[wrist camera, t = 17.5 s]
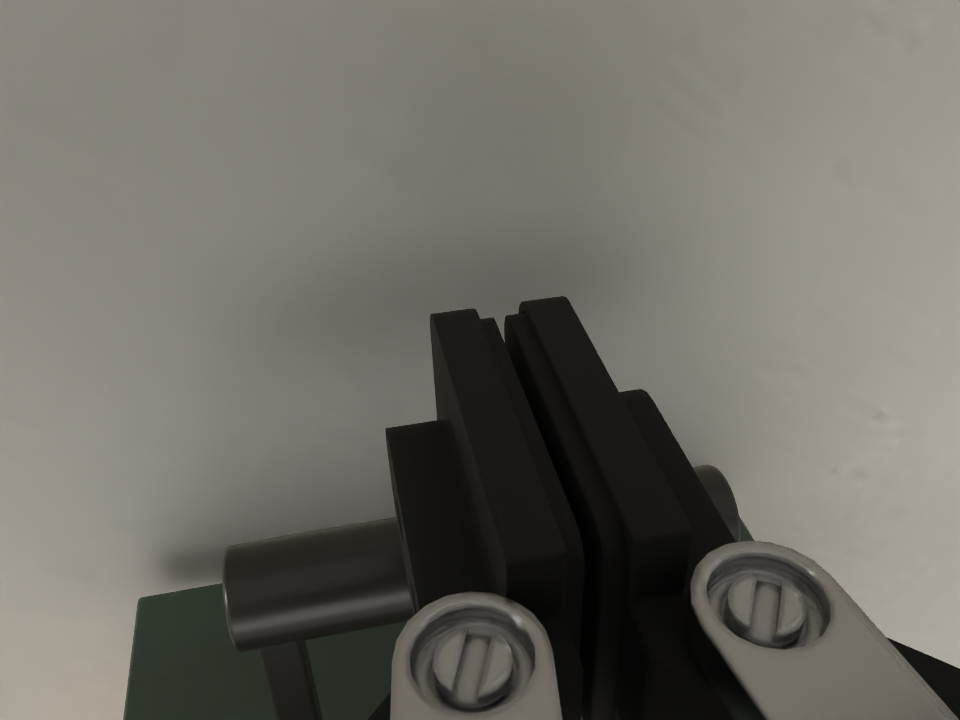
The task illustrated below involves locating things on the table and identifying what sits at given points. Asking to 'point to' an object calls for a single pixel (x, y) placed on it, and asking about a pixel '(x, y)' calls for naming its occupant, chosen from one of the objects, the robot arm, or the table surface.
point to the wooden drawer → (293, 627)
